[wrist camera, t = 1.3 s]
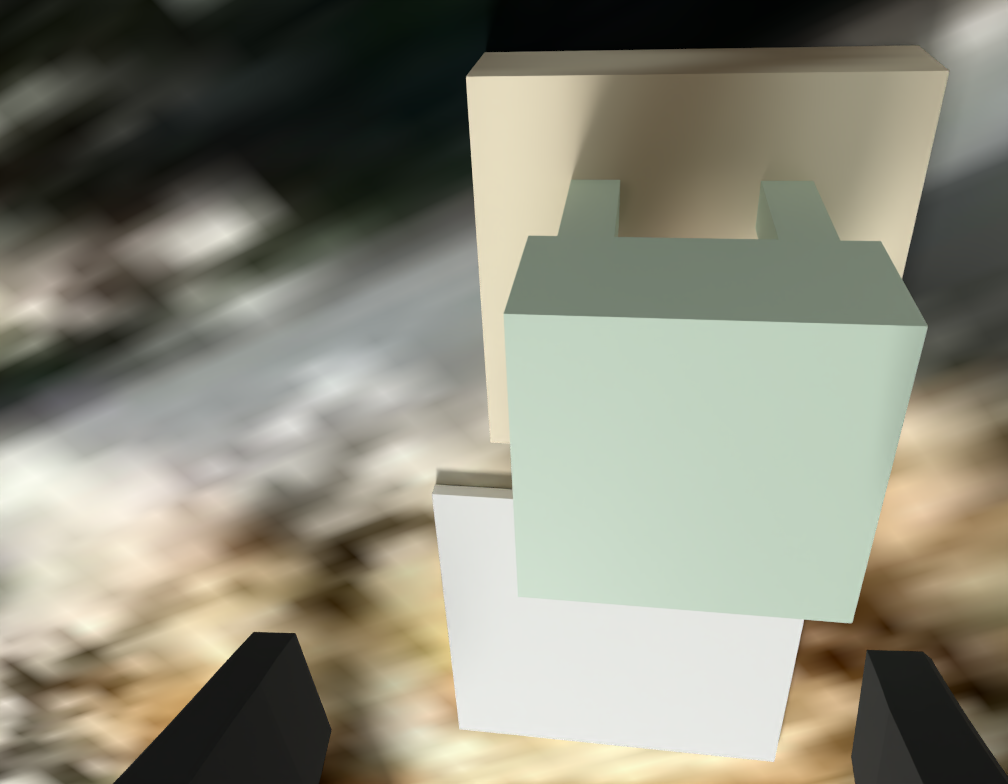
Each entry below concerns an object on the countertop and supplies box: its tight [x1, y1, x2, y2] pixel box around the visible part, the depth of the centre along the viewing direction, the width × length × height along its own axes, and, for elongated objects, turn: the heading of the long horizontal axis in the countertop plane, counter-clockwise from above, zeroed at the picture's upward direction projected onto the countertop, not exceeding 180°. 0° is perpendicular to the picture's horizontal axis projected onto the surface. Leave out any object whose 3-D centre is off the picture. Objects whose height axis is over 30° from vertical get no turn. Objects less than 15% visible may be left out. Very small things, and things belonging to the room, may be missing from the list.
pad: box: [432, 485, 804, 762], centre depth 25 cm, size 10×10×1 cm
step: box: [466, 45, 949, 444], centre depth 17 cm, size 8×8×2 cm
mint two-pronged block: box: [504, 180, 928, 623], centre depth 14 cm, size 5×5×6 cm
